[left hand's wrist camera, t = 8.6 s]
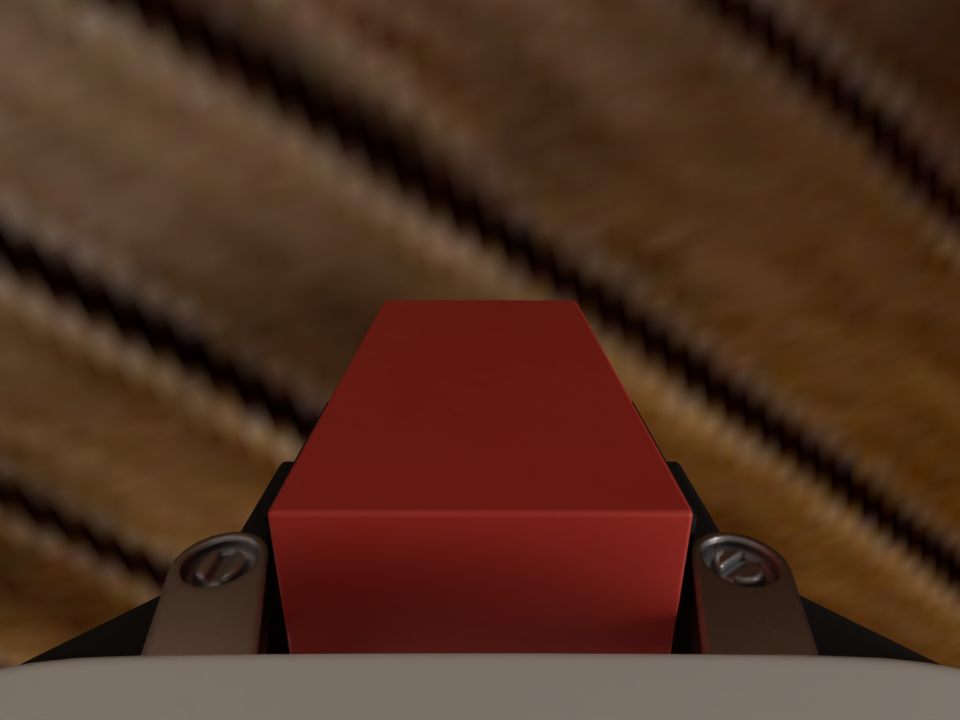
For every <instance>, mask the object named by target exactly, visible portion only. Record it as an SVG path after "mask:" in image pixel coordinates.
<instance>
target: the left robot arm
mask: <svg viewBox="0 0 960 720" xmlns="http://www.w3.org/2000/svg"><path fill="white" fill-rule="evenodd" d="M328 403H329V402H327V404H328ZM327 404H326V405H325V407H324V409H323V411H322V413H323V412H324V410H325V408H326V406H327ZM632 404H633V405H634V403H633V402H632ZM634 407H635V409H636V411H637V413H638V414H639V416H640V418H641V420H642V422H643V423H644V425H645V427H646V429H647V431H648V432H649V434H650V436H651V438H652V440H653V441H654V443H655V445H656V447H657V449H658V450H659V452H660V454H661V456H662V458H663V459H664V461H665V463H666V465H667V467H668V468H669V470H670V472H671V474H672V476H673V478H674V479H675V481H676V483H677V485H678V487H679V488H680V490H681V492H682V494H683V496H684V497H685V499H686V501H687V503H688V505H689V506H690V508H691V510H692V513H693V518H692V524H691V530H690V536H689V543H688V549H687V555H686V562H685V568H684V574H683V581H682V587H681V593H680V599H679V606H678V612H677V618H676V625H675V631H674V637H673V643H672V650H671V654H561V653H421V654H290V652H289V646H288V640H287V633H286V627H285V621H284V614H283V608H282V602H281V595H280V589H279V583H278V577H277V570H276V564H275V558H274V551H273V545H272V539H271V532H270V526H269V520H268V512H269V509H270V508H271V506H272V504H273V502H274V500H275V499H276V497H277V495H278V493H279V491H280V489H281V488H282V486H283V484H284V482H285V480H286V479H287V477H288V475H289V473H290V471H291V470H292V468H293V466H294V464H295V462H296V461H297V459H298V457H299V455H300V453H301V451H302V450H303V448H304V446H305V444H306V442H307V441H308V439H309V437H310V435H311V433H312V432H313V430H314V428H315V426H316V424H317V423H318V421H319V419H320V417H321V415H322V413H321V414H320V416H319V418H318V420H317V422H316V423H315V425H314V427H313V429H312V431H311V432H310V434H309V436H308V438H307V440H306V441H305V443H304V445H303V447H302V449H301V450H300V452H299V454H298V456H297V458H296V459H295V461H294V462H283V463H282V464H281V465H280V466H279V468H278V470H277V472H276V473H275V475H274V477H273V478H272V480H271V482H270V483H269V485H268V487H267V488H266V490H265V492H264V494H263V495H262V497H261V499H260V500H259V502H258V504H257V505H256V507H255V509H254V510H253V512H252V514H251V515H250V517H249V519H248V521H247V522H246V524H245V526H244V527H243V529H242V531H241V532H231V533H223V534H219V535H214V536H211V537H208V538H206V539H203V540H201V541H199V542H197V543H195V544H193V545H192V546H190V547H189V548H187V549H185V550H184V551H183V552H182V553H181V554H180V555H179V556H178V557H177V558H176V559H175V560H174V562H173V564H172V565H171V567H170V569H169V572H168V575H167V578H166V581H165V584H164V587H163V590H162V593H161V596H159V597H157V598H154V599H152V600H150V601H148V602H146V603H144V604H142V605H140V606H138V607H136V608H134V609H132V610H130V611H128V612H126V613H124V614H122V615H120V616H118V617H116V618H114V619H112V620H110V621H108V622H106V623H104V624H102V625H100V626H97V627H95V628H93V629H91V630H89V631H87V632H85V633H83V634H81V635H79V636H77V637H75V638H73V639H71V640H69V641H67V642H65V643H63V644H61V645H59V646H57V647H55V648H53V649H51V650H49V651H47V652H45V653H43V654H40V655H38V656H36V657H34V658H32V659H30V660H28V661H26V662H24V663H22V664H21V665H18V666H12V667H7V668H2V669H0V720H960V669H958V668H953V667H948V666H942V665H940V664H938V663H936V662H934V661H932V660H930V659H928V658H926V657H924V656H922V655H920V654H918V653H916V652H914V651H912V650H910V649H908V648H906V647H904V646H902V645H900V644H897V643H895V642H893V641H891V640H889V639H887V638H885V637H883V636H881V635H879V634H877V633H875V632H873V631H871V630H869V629H867V628H865V627H863V626H861V625H859V624H857V623H855V622H853V621H851V620H849V619H847V618H845V617H843V616H841V615H838V614H836V613H834V612H832V611H830V610H828V609H826V608H824V607H822V606H820V605H818V604H816V603H814V602H812V601H810V600H808V599H806V598H804V597H802V596H800V595H799V593H798V590H797V587H796V584H795V581H794V578H793V575H792V572H791V569H790V567H789V565H788V564H787V562H786V560H785V559H784V558H783V557H782V556H781V555H780V554H779V553H778V552H777V551H776V550H775V549H773V548H771V547H770V546H768V545H767V544H765V543H763V542H761V541H759V540H757V539H754V538H752V537H749V536H746V535H741V534H737V533H729V532H719V530H718V528H717V526H716V525H715V523H714V521H713V520H712V518H711V516H710V515H709V513H708V511H707V510H706V508H705V506H704V505H703V503H702V501H701V499H700V498H699V496H698V494H697V493H696V491H695V489H694V488H693V486H692V484H691V483H690V481H689V479H688V477H687V476H686V474H685V472H684V471H683V469H682V467H681V466H680V465H679V463H678V462H666V460H665V458H664V457H663V455H662V453H661V451H660V449H659V448H658V446H657V444H656V442H655V440H654V439H653V437H652V435H651V433H650V431H649V430H648V428H647V426H646V424H645V422H644V421H643V419H642V417H641V415H640V413H639V412H638V410H637V408H636V406H635V405H634Z"/></svg>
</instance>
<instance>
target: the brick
mask: <svg viewBox="0 0 960 720" xmlns="http://www.w3.org/2000/svg"><path fill="white" fill-rule="evenodd" d="M692 518H693V513H692V510H691V508H690V506H689V505H688V503H687V501H686V499H685V497H684V496H683V494H682V492H681V490H680V488H679V487H678V485H677V483H676V481H675V479H674V478H673V476H672V474H671V472H670V470H669V468H668V467H667V465H666V463H665V461H664V459H663V458H662V456H661V454H660V452H659V450H658V449H657V447H656V445H655V443H654V441H653V440H652V438H651V436H650V434H649V432H648V431H647V429H646V427H645V425H644V423H643V422H642V420H641V418H640V416H639V414H638V413H637V411H636V409H635V407H634V405H633V404H632V402H631V400H630V398H629V396H628V394H627V393H626V391H625V389H624V387H623V385H622V384H621V382H620V380H619V378H618V376H617V375H616V373H615V371H614V369H613V367H612V366H611V364H610V362H609V360H608V358H607V357H606V355H605V353H604V351H603V349H602V348H601V346H600V344H599V342H598V340H597V339H596V337H595V335H594V333H593V331H592V329H591V328H590V326H589V324H588V322H587V320H586V319H585V317H584V315H583V313H582V311H581V310H580V308H579V306H578V304H577V302H576V301H384V303H383V305H382V307H381V309H380V310H379V312H378V314H377V316H376V318H375V319H374V321H373V323H372V325H371V327H370V328H369V330H368V332H367V334H366V336H365V338H364V339H363V341H362V343H361V345H360V347H359V348H358V350H357V352H356V354H355V356H354V357H353V359H352V361H351V363H350V365H349V366H348V368H347V370H346V372H345V374H344V376H343V377H342V379H341V381H340V383H339V385H338V386H337V388H336V390H335V392H334V394H333V395H332V397H331V399H330V401H329V403H328V404H327V406H326V408H325V410H324V412H323V413H322V415H321V417H320V419H319V421H318V423H317V424H316V426H315V428H314V430H313V432H312V433H311V435H310V437H309V439H308V441H307V442H306V444H305V446H304V448H303V450H302V451H301V453H300V455H299V457H298V459H297V461H296V462H295V464H294V466H293V468H292V470H291V471H290V473H289V475H288V477H287V479H286V480H285V482H284V484H283V486H282V488H281V489H280V491H279V493H278V495H277V497H276V499H275V500H274V502H273V504H272V506H271V508H270V509H269V512H268V520H269V526H270V532H271V539H272V545H273V551H274V558H275V564H276V570H277V577H278V583H279V589H280V595H281V602H282V608H283V614H284V621H285V627H286V633H287V640H288V646H289V652H290V654H421V653H561V654H671V650H672V643H673V637H674V631H675V625H676V618H677V612H678V606H679V599H680V593H681V587H682V581H683V574H684V568H685V562H686V555H687V549H688V543H689V536H690V530H691V524H692Z"/></svg>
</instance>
